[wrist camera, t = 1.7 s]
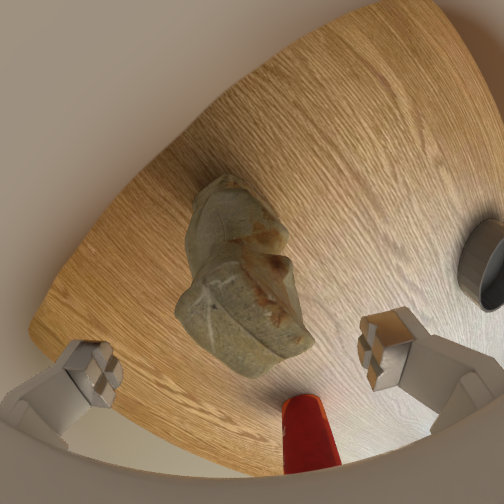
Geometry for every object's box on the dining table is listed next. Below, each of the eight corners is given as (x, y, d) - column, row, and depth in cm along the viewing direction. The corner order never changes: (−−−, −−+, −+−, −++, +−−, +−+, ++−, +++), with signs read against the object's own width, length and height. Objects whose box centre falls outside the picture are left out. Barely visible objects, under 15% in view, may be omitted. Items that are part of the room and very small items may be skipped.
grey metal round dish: (464, 221, 23) (490, 235, 19) (510, 216, 23) (532, 227, 18) (450, 302, 27) (469, 321, 23) (496, 286, 27) (514, 301, 22)
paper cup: (262, 410, 33) (267, 499, 20) (300, 382, 31) (318, 481, 18) (303, 423, 35) (315, 501, 22) (340, 398, 33) (363, 482, 20)
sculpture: (237, 263, 24) (227, 405, 10) (187, 198, 22) (100, 287, 8) (293, 227, 23) (351, 347, 9) (244, 157, 21) (238, 180, 7)
